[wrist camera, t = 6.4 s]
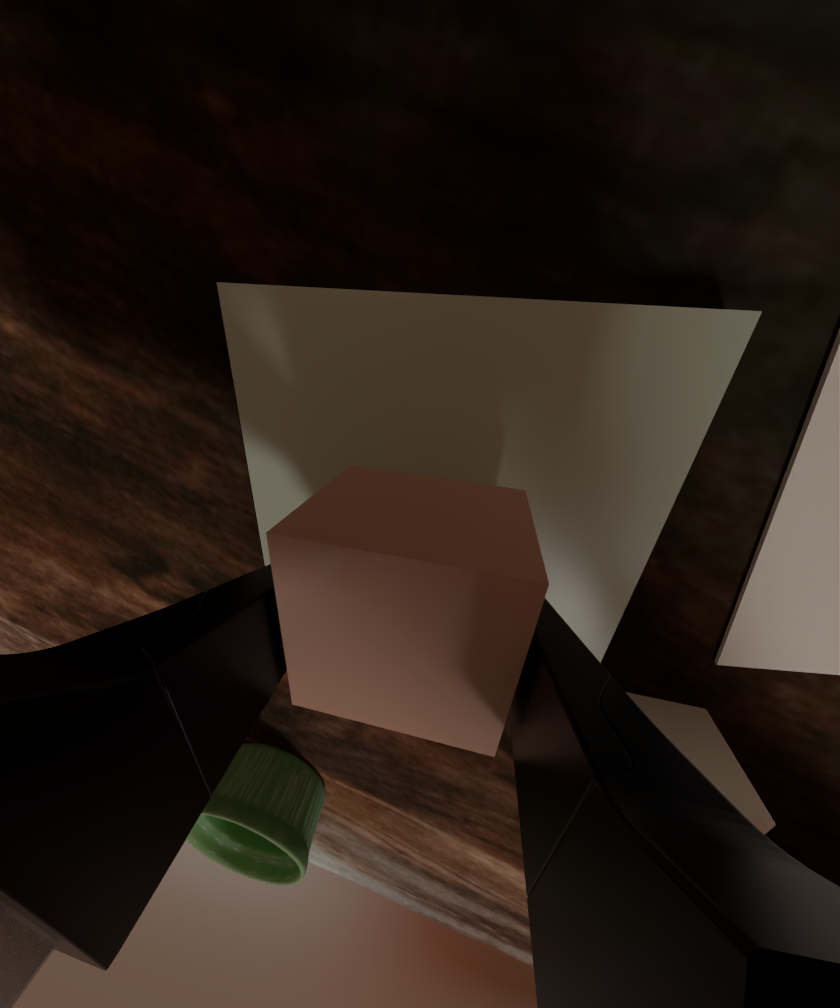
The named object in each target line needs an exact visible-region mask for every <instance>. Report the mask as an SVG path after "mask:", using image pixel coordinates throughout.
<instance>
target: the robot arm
mask: <svg viewBox="0 0 840 1008" xmlns="http://www.w3.org/2000/svg"><path fill="white" fill-rule="evenodd" d="M286 670H287V666H286V660H285V653H284V647H283V640H282V634H281V627H280V621H279V614H278V608H277V601H276V595H275V588H274V582H273V575H272V569H271V564H269V565H267V566H264V567H262V568H260V569H257V570H255V571H252V572H250V573H248V574H245V575H243V576H241V577H238V578H236V579H233V580H231V581H229V582H226V583H224V584H221V585H219V586H217V587H214V588H212V589H209V590H208V591H207V593H206V592H202V593H200V594H197V595H195V596H193V597H190V598H188V599H185V600H183V601H180V602H178V603H175V604H173V605H170V606H168V607H166V608H163V609H160V610H157V611H155V612H152V613H149V614H147V615H144V616H141V617H138V618H136V619H133V620H130V621H127V622H124V623H122V624H119V625H116V626H113V627H110V628H108V629H105V630H102V631H99V632H96V633H94V634H91V635H88V636H85V637H82V638H80V639H77V640H74V641H71V642H68V643H65V644H62V645H59V646H56V647H52V648H48V649H44V650H39V651H34V652H28V653H19V654H5V655H0V1008H12V1007H13V1005H14V1004H15V1002H16V1001H17V1000H18V998H19V997H20V996H21V994H22V993H23V991H24V990H25V989H26V987H27V986H28V985H29V983H30V982H31V980H32V979H33V978H34V976H35V975H36V974H37V972H38V971H39V970H40V968H41V967H42V965H43V964H44V963H45V961H46V960H47V959H48V957H49V956H50V955H51V953H52V952H53V950H54V949H55V950H58V951H60V952H62V953H65V954H67V955H69V956H72V957H74V958H77V959H79V960H81V961H83V962H86V963H88V964H91V965H93V966H95V967H98V968H100V969H102V970H107V969H108V968H109V966H110V965H111V963H112V962H113V960H114V958H115V957H116V955H117V954H118V952H119V951H120V949H121V947H122V946H123V944H124V942H125V941H126V939H127V937H128V936H129V934H130V932H131V931H132V929H133V927H134V926H135V924H136V922H137V920H138V919H139V917H140V915H141V914H142V912H143V910H144V909H145V907H146V905H147V904H148V902H149V900H150V899H151V897H152V895H153V893H154V892H155V890H156V889H157V887H158V885H159V884H160V882H161V880H162V879H163V877H164V875H165V874H166V872H167V870H168V868H169V867H170V865H171V863H172V862H173V860H174V858H175V857H176V855H177V853H178V852H179V850H180V848H181V846H182V845H183V843H184V842H185V840H186V838H187V837H188V835H189V833H190V832H191V830H192V828H193V827H194V825H195V823H196V822H197V820H198V818H199V816H200V815H201V813H202V811H203V810H204V808H205V806H206V805H207V803H208V801H209V800H210V796H211V795H212V794H213V793H214V791H215V789H216V788H217V786H218V784H219V782H220V781H221V779H222V777H223V776H224V774H225V772H226V771H227V769H228V767H229V766H230V764H231V762H232V761H233V759H234V757H235V756H236V754H237V752H238V751H239V749H240V747H241V746H242V744H243V742H244V741H245V739H246V737H247V736H248V734H249V732H250V730H251V729H252V727H253V725H254V724H255V722H256V720H257V719H258V717H259V715H260V714H261V712H262V710H263V709H264V707H265V705H266V704H267V702H268V700H269V699H270V697H271V695H272V694H273V692H274V690H275V689H276V687H277V685H278V684H279V682H280V680H281V678H282V677H283V675H284V673H285V672H286ZM509 717H510V727H511V737H512V747H513V758H514V768H515V778H516V789H517V799H518V809H519V819H520V830H521V840H522V850H523V861H524V871H525V881H526V891H527V896H528V898H527V903H528V914H529V924H530V934H531V945H532V955H533V965H534V975H535V985H536V995H537V1006H538V1008H840V887H839V886H838V885H836V884H834V883H832V882H831V881H829V880H827V879H826V878H824V877H822V876H820V875H819V874H817V873H816V872H814V871H812V870H811V869H809V868H807V867H806V866H804V865H803V864H802V863H800V862H799V861H797V860H796V859H794V858H793V857H791V856H790V855H789V854H787V853H786V852H785V851H783V850H782V849H781V848H780V847H778V846H777V845H776V844H774V843H773V842H772V841H771V840H770V839H769V838H768V837H766V836H765V835H764V834H763V833H762V832H761V831H760V830H758V829H757V828H756V827H755V826H754V825H753V824H752V823H751V822H750V821H749V820H748V819H747V818H746V817H745V816H744V815H743V814H742V813H741V812H740V811H739V810H738V809H737V808H736V807H735V806H734V805H733V804H732V803H731V802H730V801H729V800H728V799H727V798H726V797H725V796H724V795H723V794H722V793H721V792H720V791H719V790H718V789H717V788H716V787H715V786H714V785H713V784H712V783H711V782H710V781H709V780H708V779H707V778H706V777H705V776H704V774H703V773H702V772H701V771H700V770H699V769H698V768H697V767H696V766H695V765H694V764H693V763H692V762H691V761H690V760H689V759H688V758H687V757H686V756H685V755H684V754H683V753H682V752H681V751H680V750H679V749H678V748H677V747H676V746H675V745H674V744H673V743H672V742H671V741H670V740H669V739H668V738H667V737H666V736H665V735H664V734H663V732H662V731H661V730H660V729H659V728H658V727H657V726H656V725H655V724H654V723H653V722H652V721H651V720H650V719H649V718H648V717H647V716H646V715H645V713H644V712H643V711H642V710H641V709H640V708H639V707H638V706H637V704H636V703H635V702H634V701H633V700H632V699H631V698H630V697H629V695H628V694H627V693H626V692H625V691H624V690H623V689H622V687H621V686H620V685H619V684H618V683H617V681H616V680H615V679H614V678H611V675H610V673H609V672H608V671H607V670H606V669H605V668H604V666H603V665H602V664H601V663H600V662H599V661H598V659H597V658H596V657H595V656H594V655H593V654H592V652H591V651H590V650H589V649H588V648H587V646H586V645H585V644H584V643H583V642H582V641H581V639H580V638H579V637H578V636H577V635H576V634H575V632H574V631H573V630H572V629H571V628H570V627H569V625H568V624H567V623H566V622H565V621H564V620H563V618H562V617H561V616H560V615H559V614H558V612H557V611H556V610H555V609H554V608H553V607H552V605H551V604H550V603H549V602H548V601H547V600H546V598H545V599H544V602H543V605H542V609H541V612H540V615H539V618H538V621H537V624H536V628H535V631H534V634H533V637H532V640H531V643H530V646H529V650H528V653H527V656H526V659H525V662H524V665H523V668H522V672H521V675H520V678H519V681H518V684H517V687H516V691H515V694H514V697H513V700H512V703H511V706H510V709H509Z"/></svg>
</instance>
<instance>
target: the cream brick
mask: <svg viewBox="0 0 840 1008" xmlns="http://www.w3.org/2000/svg"><path fill="white" fill-rule="evenodd" d="M626 693H627V694H628V695H629V697H630V698H631V699H632V700H633V701H634V702H635V703H636V704H637V706H638V707H639V708H640V709H641V710H642V711H643V712H644V713H645V715H646V716H647V717H648V718H649V719H650V720H651V721H652V722H653V723H654V724H655V725H656V726H657V727H658V728H659V729H660V730H661V731H662V732H663V734H664V735H665V736H666V737H667V738H668V739H669V740H670V741H671V742H672V743H673V744H674V745H675V746H676V747H677V748H678V749H679V750H680V751H681V752H682V753H683V754H684V755H685V756H686V757H687V758H688V759H689V760H690V761H691V762H692V763H693V764H694V765H695V766H696V767H697V768H698V769H699V770H700V771H701V772H702V773H703V774H704V776H705V777H706V778H707V779H708V780H709V781H710V782H711V783H712V784H713V785H714V786H715V787H716V788H717V789H718V790H719V791H720V792H721V793H722V794H723V795H724V796H725V797H726V798H727V799H728V800H729V801H730V802H731V803H732V804H733V805H734V806H735V807H736V808H737V809H738V810H739V811H740V812H741V813H742V814H743V815H744V816H745V817H746V818H747V819H748V820H749V821H750V822H751V823H752V824H753V825H754V826H755V827H756V828H757V829H758V830H760V831H761V832H762V833H763V834H764V835H765V834H766V833H767V832H768V831H769V830H771V829H772V828H773V827H774V826H775V825H776V824H775V822H774V820H773V819H772V817H771V815H770V814H769V812H768V810H767V809H766V807H765V805H764V804H763V802H762V801H761V799H760V797H759V796H758V794H757V792H756V791H755V789H754V787H753V786H752V784H751V782H750V781H749V779H748V777H747V776H746V774H745V772H744V771H743V769H742V768H741V766H740V764H739V763H738V761H737V759H736V758H735V756H734V754H733V753H732V751H731V749H730V748H729V746H728V744H727V743H726V741H725V740H724V738H723V736H722V735H721V733H720V731H719V730H718V728H717V726H716V725H715V723H714V721H713V720H712V718H711V716H710V715H709V713H708V711H707V710H706V709H704V708H699V707H694V706H689V705H685V704H680V703H675V702H671V701H666V700H661V699H657V698H652V697H647V696H642V695H638V694H633V693H628V692H626Z"/></svg>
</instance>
